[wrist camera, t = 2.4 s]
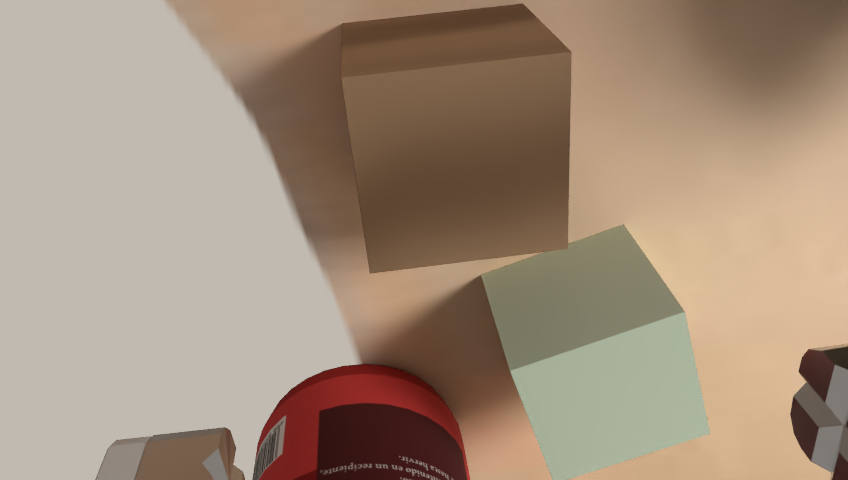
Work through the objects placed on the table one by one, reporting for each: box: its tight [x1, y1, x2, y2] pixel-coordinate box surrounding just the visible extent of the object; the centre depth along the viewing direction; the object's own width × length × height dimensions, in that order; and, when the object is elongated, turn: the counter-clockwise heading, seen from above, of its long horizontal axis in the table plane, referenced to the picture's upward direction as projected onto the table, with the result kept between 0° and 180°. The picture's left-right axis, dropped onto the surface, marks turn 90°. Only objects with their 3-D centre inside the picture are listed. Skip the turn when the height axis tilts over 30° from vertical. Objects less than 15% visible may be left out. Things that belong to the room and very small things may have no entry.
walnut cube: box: [341, 4, 571, 273], centre depth 19 cm, size 5×5×5 cm
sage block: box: [481, 224, 710, 480], centre depth 23 cm, size 5×5×5 cm
